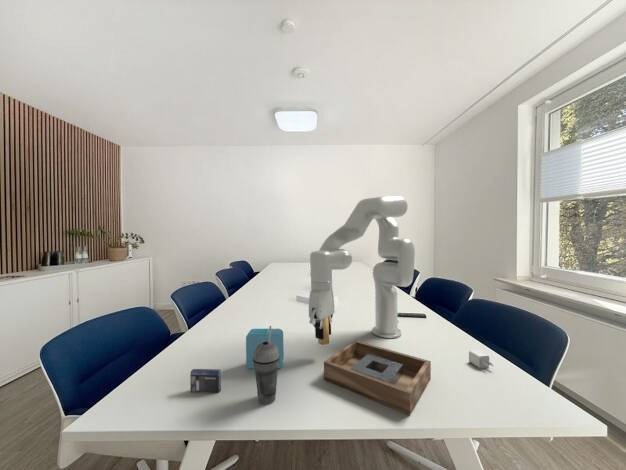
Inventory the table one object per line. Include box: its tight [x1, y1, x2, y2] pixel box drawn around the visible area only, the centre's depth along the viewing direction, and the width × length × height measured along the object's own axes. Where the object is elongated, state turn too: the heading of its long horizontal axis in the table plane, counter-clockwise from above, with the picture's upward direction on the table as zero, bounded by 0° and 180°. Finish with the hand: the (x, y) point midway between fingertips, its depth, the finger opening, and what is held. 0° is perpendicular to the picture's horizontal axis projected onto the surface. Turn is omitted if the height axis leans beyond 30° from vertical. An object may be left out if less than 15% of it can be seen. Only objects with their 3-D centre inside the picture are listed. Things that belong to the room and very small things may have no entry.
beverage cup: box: [253, 325, 280, 406], centre depth 71 cm, size 7×7×20 cm
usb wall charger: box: [468, 349, 494, 369], centre depth 87 cm, size 4×7×4 cm, turn 10°
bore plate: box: [350, 354, 403, 385], centre depth 80 cm, size 12×12×3 cm
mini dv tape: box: [189, 368, 222, 394], centre depth 75 cm, size 8×2×6 cm, turn 87°
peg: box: [317, 317, 330, 346], centre depth 93 cm, size 4×4×10 cm
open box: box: [323, 339, 432, 416], centre depth 80 cm, size 20×26×6 cm
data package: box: [245, 328, 285, 370], centre depth 89 cm, size 12×4×12 cm, turn 89°
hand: (323, 335), depth 93 cm, fingers closed on peg, 4 cm apart
